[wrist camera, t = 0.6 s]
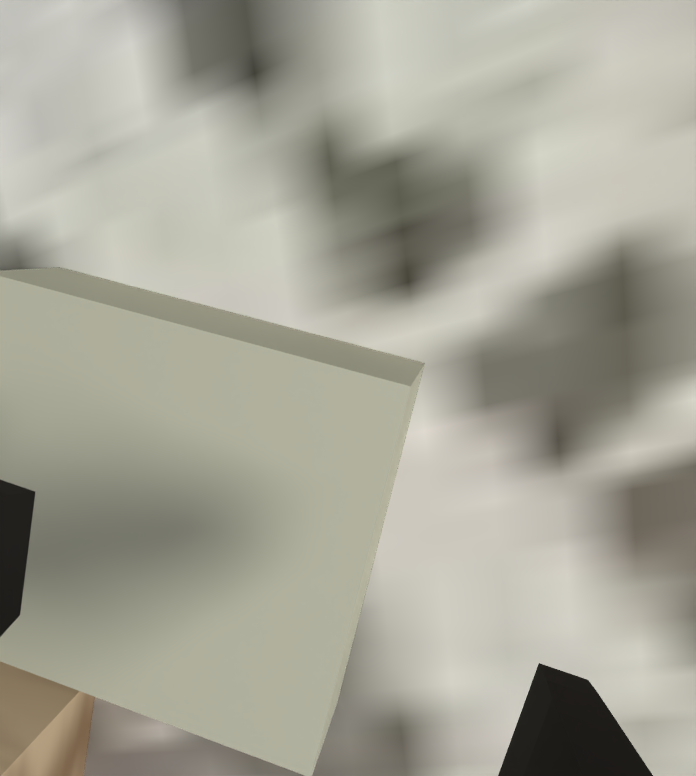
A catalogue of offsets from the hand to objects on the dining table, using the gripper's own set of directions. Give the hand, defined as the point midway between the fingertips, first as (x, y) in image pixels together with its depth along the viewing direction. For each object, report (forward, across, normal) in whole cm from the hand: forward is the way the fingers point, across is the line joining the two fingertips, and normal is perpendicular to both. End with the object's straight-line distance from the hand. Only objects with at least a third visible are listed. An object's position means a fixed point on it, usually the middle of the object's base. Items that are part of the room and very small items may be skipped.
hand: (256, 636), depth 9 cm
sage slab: (+10, +5, +3) cm, 11 cm away
